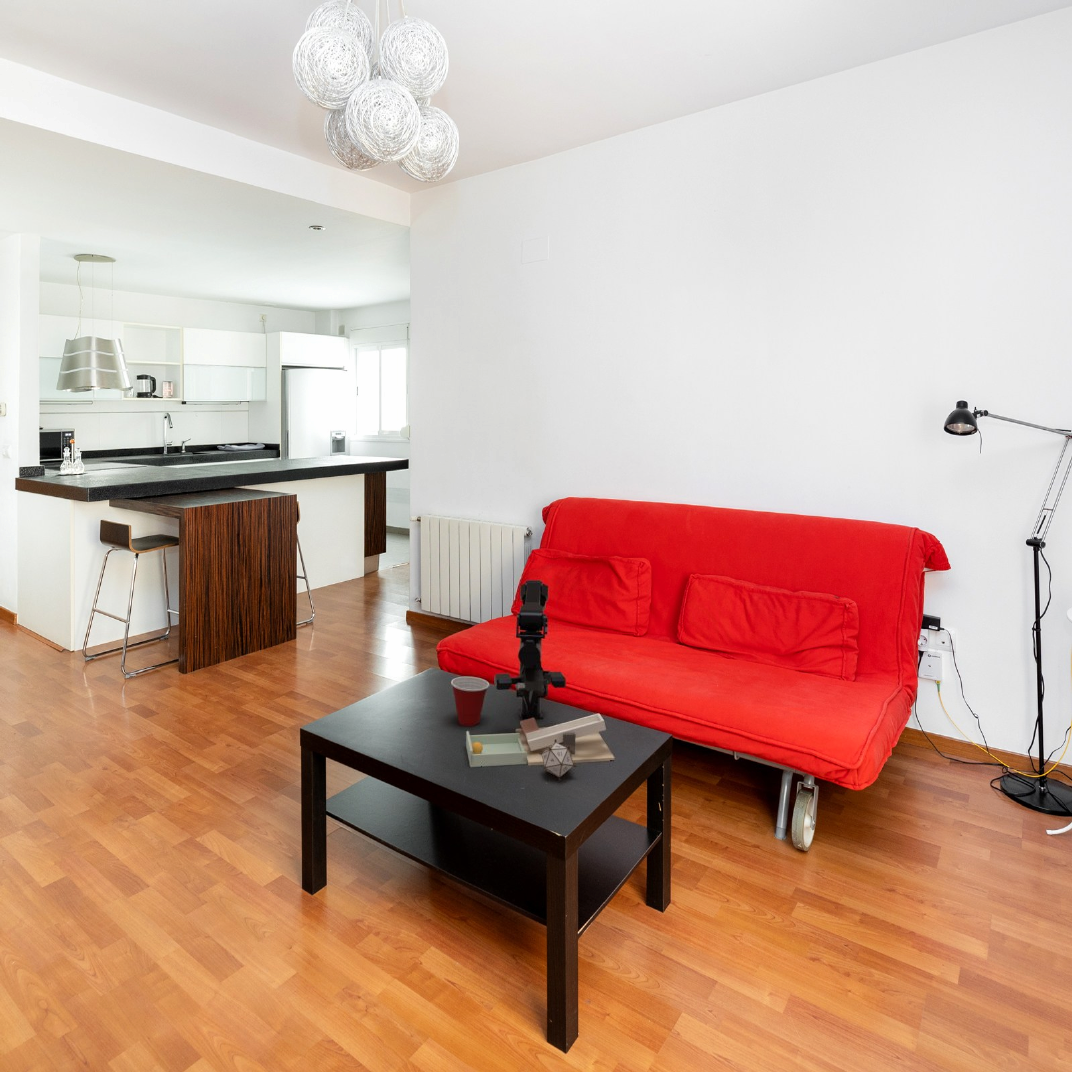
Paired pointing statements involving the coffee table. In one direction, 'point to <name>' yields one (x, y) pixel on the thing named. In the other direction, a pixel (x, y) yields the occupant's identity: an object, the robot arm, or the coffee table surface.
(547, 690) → the robot arm
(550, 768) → the game die
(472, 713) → the plastic cup
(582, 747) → the lever stand
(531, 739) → the lever
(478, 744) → the ball
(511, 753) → the tray
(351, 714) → the coffee table surface
